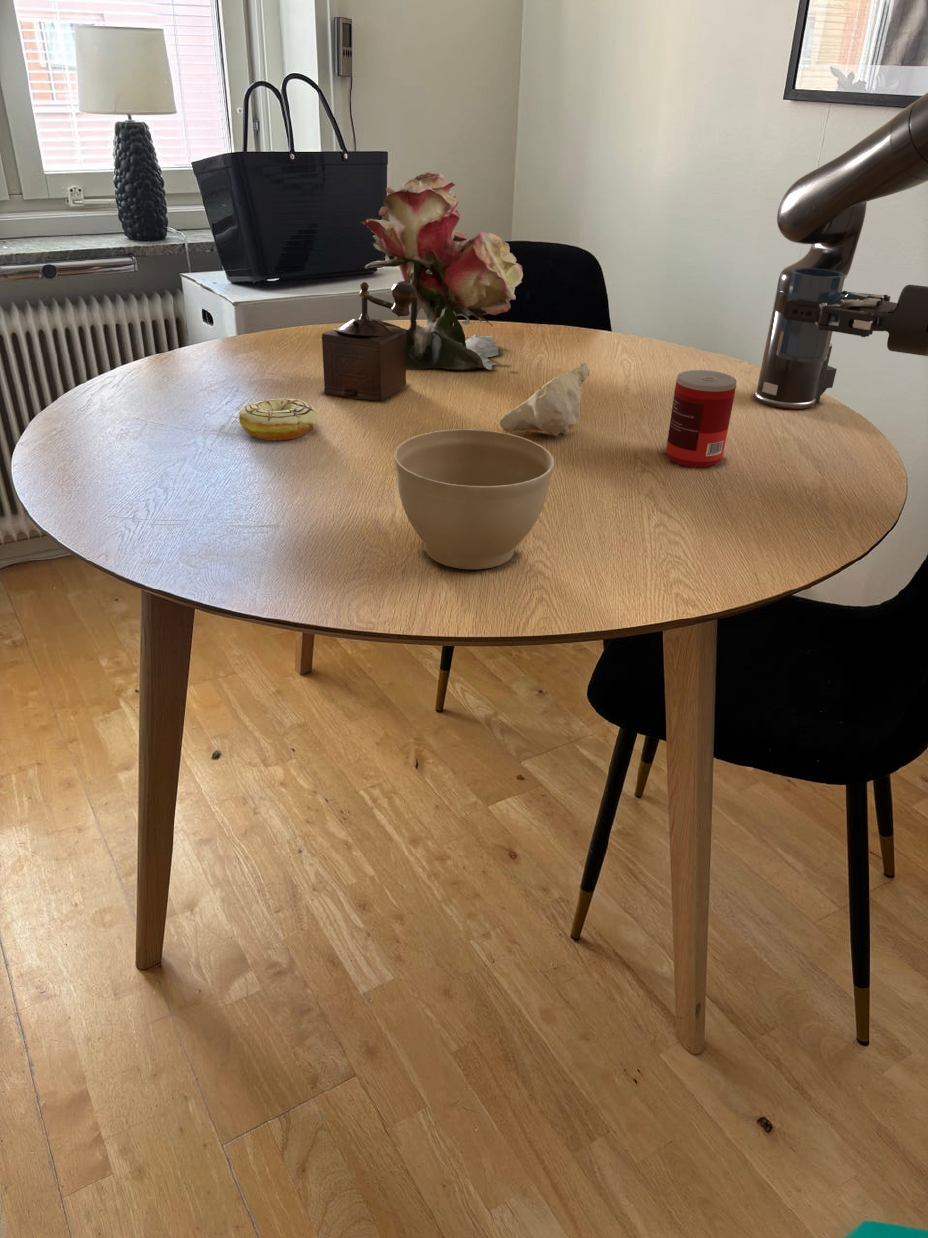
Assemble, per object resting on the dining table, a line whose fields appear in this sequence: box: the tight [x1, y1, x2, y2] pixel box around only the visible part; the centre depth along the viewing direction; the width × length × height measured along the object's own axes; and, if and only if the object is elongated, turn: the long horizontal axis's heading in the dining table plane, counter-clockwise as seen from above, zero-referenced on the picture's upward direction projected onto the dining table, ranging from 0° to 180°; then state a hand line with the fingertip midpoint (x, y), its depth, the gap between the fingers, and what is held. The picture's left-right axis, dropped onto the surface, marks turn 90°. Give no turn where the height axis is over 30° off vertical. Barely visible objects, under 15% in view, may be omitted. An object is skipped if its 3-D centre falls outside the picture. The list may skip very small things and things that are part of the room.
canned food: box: [665, 369, 737, 468], centre depth 121 cm, size 8×8×11 cm
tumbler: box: [777, 268, 846, 363], centre depth 111 cm, size 6×6×10 cm
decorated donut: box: [238, 398, 319, 442], centre depth 127 cm, size 10×11×4 cm
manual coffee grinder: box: [321, 280, 417, 402], centre depth 141 cm, size 16×11×18 cm
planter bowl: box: [393, 428, 555, 570], centre depth 94 cm, size 16×16×11 cm
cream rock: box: [498, 362, 591, 437], centre depth 131 cm, size 15×7×15 cm
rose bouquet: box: [360, 171, 524, 371], centre depth 160 cm, size 26×29×30 cm
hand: (792, 304), depth 112 cm, fingers closed on tumbler, 6 cm apart
